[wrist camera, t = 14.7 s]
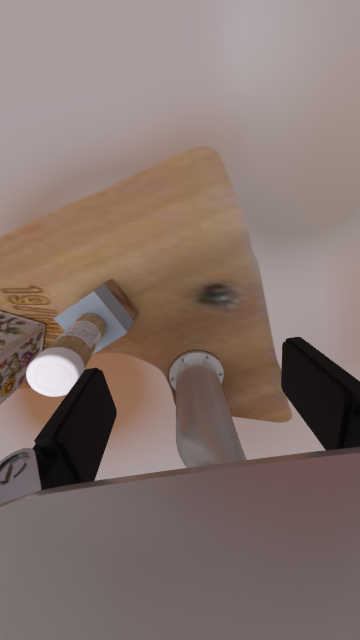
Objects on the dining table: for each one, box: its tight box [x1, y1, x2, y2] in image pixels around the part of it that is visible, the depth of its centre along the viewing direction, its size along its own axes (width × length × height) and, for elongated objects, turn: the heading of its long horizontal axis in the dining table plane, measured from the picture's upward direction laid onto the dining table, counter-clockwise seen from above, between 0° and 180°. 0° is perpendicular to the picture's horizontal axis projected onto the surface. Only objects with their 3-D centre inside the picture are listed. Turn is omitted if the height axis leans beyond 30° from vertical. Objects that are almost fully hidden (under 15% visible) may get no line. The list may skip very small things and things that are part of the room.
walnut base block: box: [97, 279, 138, 320], centre depth 38 cm, size 8×8×5 cm
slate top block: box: [54, 285, 134, 354], centre depth 33 cm, size 8×8×5 cm
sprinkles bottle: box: [26, 314, 105, 397], centre depth 24 cm, size 5×5×13 cm
